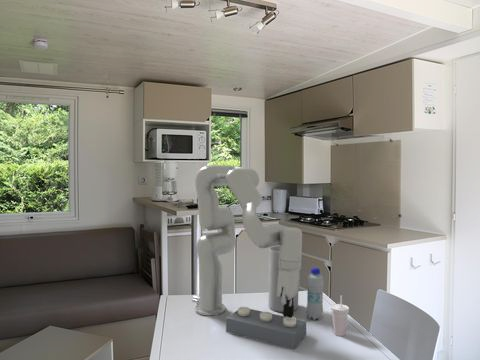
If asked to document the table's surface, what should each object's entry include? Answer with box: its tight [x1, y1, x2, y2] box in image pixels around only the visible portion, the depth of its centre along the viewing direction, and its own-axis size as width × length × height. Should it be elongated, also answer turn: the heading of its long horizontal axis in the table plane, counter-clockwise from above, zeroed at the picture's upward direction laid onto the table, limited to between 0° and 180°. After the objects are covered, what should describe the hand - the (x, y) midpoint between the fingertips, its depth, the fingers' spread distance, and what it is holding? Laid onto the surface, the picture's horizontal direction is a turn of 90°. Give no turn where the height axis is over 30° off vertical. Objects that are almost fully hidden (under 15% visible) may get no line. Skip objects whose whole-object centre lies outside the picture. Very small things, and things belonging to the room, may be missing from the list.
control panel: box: [225, 308, 307, 350], centre depth 132 cm, size 26×12×5 cm, turn 61°
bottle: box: [306, 267, 325, 321], centre depth 146 cm, size 7×7×20 cm
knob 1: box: [237, 306, 251, 316], centre depth 137 cm, size 4×4×6 cm
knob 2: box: [283, 316, 297, 327], centre depth 128 cm, size 4×4×6 cm
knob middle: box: [260, 311, 273, 322], centre depth 132 cm, size 4×4×6 cm
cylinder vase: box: [268, 245, 299, 313], centre depth 157 cm, size 12×12×25 cm
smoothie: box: [330, 295, 350, 337], centre depth 133 cm, size 6×6×14 cm
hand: (288, 316), depth 128 cm, fingers closed
